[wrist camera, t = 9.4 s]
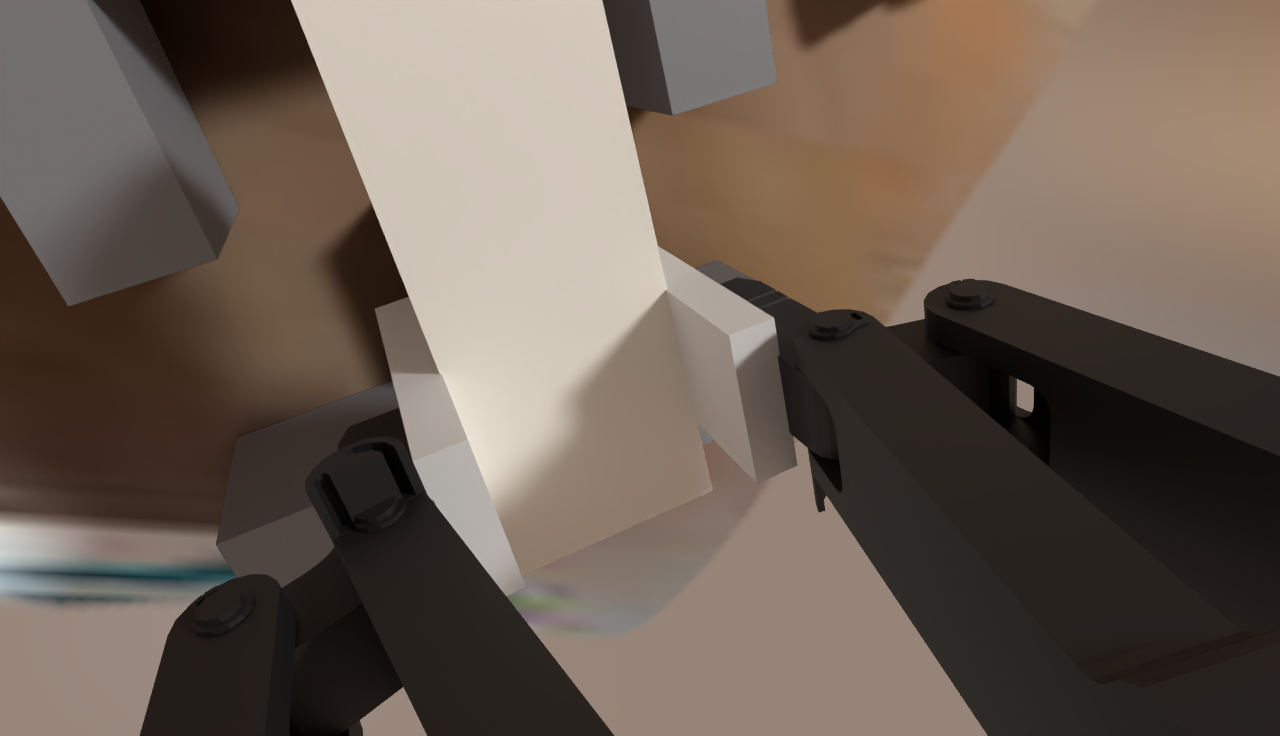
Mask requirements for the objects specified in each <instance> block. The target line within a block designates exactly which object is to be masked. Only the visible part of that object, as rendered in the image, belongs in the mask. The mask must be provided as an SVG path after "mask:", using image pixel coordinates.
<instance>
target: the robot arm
mask: <svg viewBox="0 0 1280 736" xmlns="http://www.w3.org/2000/svg"><path fill="white" fill-rule="evenodd" d="M658 250H659V254H660V259H661V263H662V268H663V272H664V277H665V281H666V285H667V290H666V293H667V297H668V302H669V306H670V311H671V315H672V320H673V324H674V328H675V333H676V337H677V342H678V346H679V351H680V355H681V359H682V364H683V368H684V373H685V377H686V382H687V386H688V390H689V395H690V399H691V404H692V408H693V413H694V417H695V421H696V422H697V423H698V424H699V425H700V426H701V427H702V428H703V429H704V430H705V431H706V432H707V433H708V434H709V435H710V436H711V437H712V438H713V439H714V441H715V442H716V443H717V444H718V445H719V446H720V447H721V448H722V449H723V450H724V451H725V452H726V453H727V454H728V455H729V456H730V457H731V458H732V459H733V460H734V461H735V462H736V463H737V464H738V465H739V466H740V467H741V468H742V469H743V470H744V471H745V472H746V473H747V474H748V475H749V476H750V477H751V478H752V479H753V480H754V481H755V482H756V483H759V482H761V481H764V480H766V479H768V478H770V477H773V476H775V475H777V474H779V473H781V472H784V471H786V470H788V469H790V468H792V467H795V466H797V461H796V454H795V448H794V441H793V436H794V437H796V438H797V439H798V440H799V441H800V442H802V443H803V444H804V445H805V446H806V447H808V453H809V460H810V466H811V473H812V479H813V487H814V493H815V500H816V505H817V508H818V512H822V511H825V506H824V499H825V497H826V495H827V497H828V498H829V500H830V501H831V502H832V504H833V506H834V507H835V509H836V510H837V511H838V513H839V515H840V516H841V517H842V519H843V520H844V522H845V523H846V525H847V526H848V528H849V529H850V531H851V532H852V534H853V535H854V537H855V538H856V540H857V541H858V543H859V544H860V546H861V547H862V549H863V550H864V552H865V553H866V555H867V556H868V558H869V559H870V561H871V562H872V564H873V565H874V567H875V568H876V570H877V571H878V573H879V574H880V576H881V577H882V578H883V580H884V582H885V583H886V585H887V586H888V588H889V589H890V590H891V592H892V593H893V595H894V596H895V598H896V599H897V601H898V602H899V604H900V605H901V607H902V608H903V610H904V611H905V613H906V614H907V616H908V617H909V619H910V620H911V622H912V623H913V625H914V626H915V628H916V629H917V631H918V632H919V634H920V635H921V637H922V638H923V640H924V641H925V643H926V644H927V645H928V647H929V648H930V650H931V652H932V653H933V654H934V656H935V658H936V659H937V660H938V662H939V663H940V665H941V667H942V668H943V669H944V671H945V672H946V674H947V675H948V677H949V678H950V680H951V681H952V683H953V684H954V686H955V687H956V689H957V690H958V692H959V693H960V695H961V696H962V698H963V699H964V701H965V702H966V704H967V705H968V707H969V708H970V709H971V711H972V713H973V714H974V716H975V717H976V719H977V720H978V721H979V723H980V724H981V726H982V728H983V729H984V730H985V732H986V734H987V735H988V736H1280V377H1279V376H1276V375H1273V374H1270V373H1267V372H1264V371H1261V370H1258V369H1255V368H1252V367H1249V366H1246V365H1243V364H1240V363H1237V362H1234V361H1231V360H1228V359H1225V358H1222V357H1219V356H1217V355H1214V354H1210V353H1208V352H1205V351H1202V350H1199V349H1195V348H1193V347H1189V346H1187V345H1183V344H1181V343H1178V342H1175V341H1172V340H1169V339H1166V338H1163V337H1160V336H1157V335H1154V334H1151V333H1148V332H1145V331H1142V330H1139V329H1136V328H1133V327H1130V326H1127V325H1124V324H1121V323H1118V322H1115V321H1112V320H1109V319H1106V318H1103V317H1100V316H1097V315H1094V314H1091V313H1088V312H1085V311H1082V310H1079V309H1076V308H1073V307H1070V306H1067V305H1065V304H1062V303H1059V302H1056V301H1052V300H1050V299H1047V298H1044V297H1041V296H1038V295H1035V294H1032V293H1028V292H1026V291H1023V290H1020V289H1017V288H1014V287H1011V286H1008V285H1005V284H1001V283H997V282H992V281H986V280H975V279H964V280H963V281H961V280H958V281H953V282H951V283H950V284H946V285H943V286H940V287H938V288H936V289H934V290H933V291H931V292H929V293H928V294H927V296H926V298H925V300H924V311H925V319H923V320H918V321H913V322H909V323H904V324H899V325H894V326H889V327H885V326H883V325H882V324H881V323H880V322H879V321H878V320H876V319H875V318H874V317H873V316H871V315H869V314H867V313H865V312H861V311H856V310H850V309H846V310H830V311H824V312H819V313H816V312H815V311H813V310H811V309H809V308H807V307H806V306H804V305H802V304H800V303H798V302H797V301H795V300H793V299H791V298H789V299H788V297H787V296H786V295H784V294H782V293H780V292H779V291H777V292H776V291H775V289H773V288H771V287H770V286H768V285H766V284H764V283H762V282H761V281H756V280H750V279H744V278H738V277H737V278H734V279H732V280H729V281H727V282H724V283H721V284H718V283H717V282H715V281H714V280H712V279H710V278H709V277H707V276H706V275H704V274H702V273H701V272H699V271H697V270H696V269H694V268H693V267H691V266H689V265H688V264H686V263H684V262H683V261H681V260H680V259H678V258H676V257H675V256H673V255H672V254H670V253H668V252H667V251H665V250H663V249H662V248H660V247H659V246H658ZM375 312H376V316H377V320H378V324H379V328H380V332H381V336H382V340H383V344H384V348H385V352H386V356H387V360H388V364H389V368H390V372H391V376H392V380H393V384H394V388H395V392H396V396H397V400H398V404H399V408H397V409H394V410H392V411H389V412H386V413H384V414H381V415H378V416H376V417H373V418H370V419H368V420H365V421H363V422H360V423H357V424H355V425H352V426H349V427H348V429H347V430H346V432H345V434H344V435H343V437H342V439H341V440H340V442H339V444H338V450H337V451H336V452H334V453H332V454H331V455H329V456H327V457H326V458H325V459H323V460H322V461H321V462H320V463H319V464H318V465H317V466H315V467H314V468H313V469H312V471H311V472H310V474H309V476H308V477H307V479H306V480H305V491H306V493H307V495H308V497H309V499H310V501H311V503H312V504H313V506H314V508H315V510H316V512H317V514H318V516H319V518H320V519H321V521H322V523H323V525H324V527H325V529H326V531H327V533H328V534H329V536H330V538H331V540H332V542H333V544H334V546H335V547H334V548H333V549H332V551H331V552H330V553H329V554H328V555H327V556H326V557H325V558H324V559H323V560H322V561H321V562H320V563H319V564H317V565H316V566H314V567H313V568H312V569H310V570H309V571H307V572H306V573H305V574H303V575H302V576H300V577H298V578H297V579H295V580H294V581H292V582H291V583H289V584H287V585H286V586H284V587H283V588H281V586H280V584H279V583H278V581H277V580H276V579H274V578H272V577H270V576H269V575H267V574H250V575H246V576H242V577H239V578H235V579H231V580H229V581H227V582H225V583H223V584H221V585H219V586H216V587H213V588H212V589H210V590H209V591H207V592H205V593H204V595H203V596H202V595H201V596H200V597H199V598H197V599H196V600H195V601H194V602H193V603H192V604H190V606H189V607H188V608H187V609H186V610H185V611H184V612H183V613H182V614H181V615H180V616H179V617H178V618H177V619H176V621H175V623H174V625H173V627H172V629H171V630H170V632H169V634H168V637H167V640H166V644H165V647H164V651H163V655H162V658H161V662H160V665H159V669H158V673H157V676H156V679H155V683H154V687H153V690H152V694H151V697H150V701H149V705H148V708H147V712H146V715H145V719H144V722H143V726H142V730H141V733H140V736H363V729H362V726H361V723H360V719H362V718H363V717H364V716H366V715H367V714H368V713H370V712H371V711H372V710H373V709H375V708H376V707H377V706H379V705H380V704H381V703H383V702H384V701H385V700H386V699H388V698H389V697H391V696H392V695H393V694H394V693H396V692H397V691H398V690H399V689H401V688H402V687H404V689H405V691H406V693H407V695H408V697H409V699H410V701H411V703H412V705H413V707H414V709H415V711H416V713H417V715H418V717H419V720H420V721H421V723H422V726H423V728H424V730H425V732H426V734H427V736H614V735H613V733H612V732H611V731H610V730H609V728H608V727H607V726H606V724H605V723H604V722H603V721H602V719H601V718H600V717H599V715H598V714H597V713H596V712H595V710H594V709H593V708H592V706H591V705H590V704H589V702H588V701H587V700H586V699H585V697H584V696H583V695H582V694H581V692H580V691H579V690H578V688H577V687H576V686H575V684H574V683H573V682H572V681H571V679H570V678H569V677H568V676H567V674H566V673H565V671H564V670H563V669H562V668H561V666H560V665H559V664H558V662H557V661H556V660H555V659H554V657H553V656H552V655H551V653H550V652H549V651H548V650H547V648H546V647H545V646H544V644H543V643H542V642H541V641H540V639H539V638H538V637H537V635H536V634H535V633H534V631H533V630H532V629H531V628H530V626H529V625H528V624H527V622H526V621H525V620H524V619H523V617H522V616H521V615H520V613H519V612H518V611H517V610H516V608H515V607H514V606H513V604H512V603H511V602H510V601H509V599H508V598H507V596H509V595H511V594H513V593H515V592H518V591H520V590H522V589H524V588H526V585H525V583H524V580H523V578H522V575H521V573H520V570H519V568H518V565H517V562H516V560H515V557H514V555H513V552H512V550H511V547H510V545H509V542H508V540H507V537H506V535H505V532H504V530H503V527H502V525H501V522H500V519H499V517H498V514H497V512H496V509H495V507H494V504H493V502H492V499H491V497H490V494H489V492H488V489H487V487H486V484H485V482H484V479H483V477H482V474H481V471H480V469H479V466H478V464H477V461H476V459H475V456H474V454H473V451H472V449H471V446H470V444H469V441H468V439H467V436H466V434H465V431H464V429H463V426H462V424H461V421H460V418H459V416H458V413H457V411H456V408H455V406H454V403H453V401H452V398H451V396H450V393H449V391H448V388H447V386H446V383H445V381H444V378H443V376H442V374H440V373H439V371H438V368H437V366H436V363H435V361H434V358H433V356H432V353H431V351H430V348H429V346H428V343H427V341H426V338H425V336H424V333H423V331H422V328H421V326H420V323H419V321H418V318H417V316H416V313H415V311H414V308H413V305H412V303H411V300H410V298H409V297H407V298H404V299H401V300H398V301H395V302H392V303H389V304H386V305H384V306H381V307H378V308H375ZM1017 379H1019V380H1021V381H1023V382H1026V383H1027V384H1030V385H1031V386H1033V387H1034V407H1033V412H1029V411H1026V410H1024V409H1022V408H1019V407H1018V406H1017Z"/></svg>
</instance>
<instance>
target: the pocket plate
mask: <svg viewBox="0 0 1280 736" xmlns="http://www.w3.org/2000/svg"><path fill="white" fill-rule="evenodd" d="M602 1H603V6H604V10H605V15H606V19H607V24H608V28H609V32H610V37H611V41H612V46H613V50H614V55H615V59H616V63H617V68H618V72H619V77H620V81H621V86H622V90H623V95H624V99H625V103H626V106H628V107H633V108H638V109H643V110H648V111H653V112H658V113H663V114H668V115H676V114H679V113H682V112H685V111H688V110H692V109H695V108H698V107H701V106H704V105H707V104H711V103H714V102H717V101H720V100H723V99H726V98H730V97H733V96H736V95H739V94H742V93H745V92H749V91H752V90H755V89H758V88H761V87H764V86H768V85H771V84H774V83H777V79H776V72H775V65H774V58H773V50H772V43H771V36H770V29H769V22H768V15H767V8H766V1H765V0H602ZM0 197H1V198H2V200H3V202H4V203H5V205H6V207H7V208H8V210H9V211H10V213H11V215H12V216H13V218H14V219H15V221H16V223H17V224H18V226H19V227H20V229H21V231H22V232H23V234H24V236H25V237H26V239H27V240H28V242H29V244H30V245H31V247H32V248H33V250H34V252H35V253H36V255H37V257H38V258H39V260H40V261H41V263H42V265H43V266H44V268H45V269H46V271H47V273H48V274H49V276H50V278H51V279H52V281H53V282H54V284H55V286H56V287H57V289H58V290H59V292H60V294H61V295H62V297H63V298H64V300H65V302H66V303H67V305H68V306H71V305H74V304H78V303H81V302H84V301H87V300H90V299H93V298H97V297H100V296H103V295H106V294H109V293H112V292H116V291H119V290H122V289H125V288H128V287H131V286H135V285H138V284H141V283H144V282H147V281H150V280H154V279H157V278H160V277H163V276H166V275H169V274H173V273H176V272H179V271H182V270H185V269H188V268H192V267H195V266H198V265H201V264H204V263H207V262H211V261H214V260H217V259H218V257H219V255H220V252H221V250H222V248H223V245H224V243H225V241H226V238H227V236H228V234H229V232H230V229H231V227H232V225H233V222H234V220H235V218H236V215H237V213H238V211H239V207H238V204H237V202H236V200H235V198H234V196H233V194H232V192H231V190H230V188H229V186H228V184H227V181H226V179H225V177H224V175H223V173H222V171H221V169H220V167H219V165H218V163H217V161H216V159H215V156H214V154H213V152H212V150H211V148H210V146H209V144H208V142H207V140H206V138H205V136H204V133H203V131H202V129H201V127H200V125H199V123H198V121H197V119H196V117H195V115H194V113H193V110H192V108H191V106H190V104H189V102H188V100H187V98H186V96H185V94H184V92H183V90H182V88H181V85H180V83H179V81H178V79H177V77H176V75H175V73H174V71H173V69H172V67H171V65H170V62H169V60H168V58H167V56H166V54H165V52H164V50H163V48H162V46H161V44H160V42H159V39H158V37H157V35H156V33H155V31H154V29H153V27H152V25H151V23H150V21H149V19H148V17H147V14H146V12H145V10H144V8H143V6H142V4H141V2H140V0H0ZM695 269H696V270H697V271H699V272H701V273H702V274H704V275H706V276H707V277H709V278H710V279H712V280H714V281H715V282H717V283H718V284H721V283H724V282H727V281H729V280H732V279H734V278H737V277H738V278H744V279H750V280H754V279H752V278H751V277H749V276H747V275H745V274H743V273H741V272H739V271H738V270H736V269H734V268H732V267H730V266H728V265H726V264H724V263H723V262H721V261H719V260H717V261H714V262H712V263H709V264H706V265H704V266H701V267H698V268H695ZM776 292H777V291H776ZM788 299H789V298H788ZM397 408H399V404H398V400H397V396H396V392H395V388H394V384H393V380H392V381H389V382H387V383H384V384H381V385H379V386H376V387H373V388H371V389H368V390H365V391H362V392H360V393H357V394H354V395H352V396H349V397H346V398H343V399H341V400H338V401H335V402H333V403H330V404H327V405H324V406H322V407H319V408H316V409H314V410H311V411H308V412H306V413H303V414H300V415H297V416H295V417H292V418H289V419H287V420H284V421H281V422H278V423H276V424H273V425H270V426H268V427H265V428H262V429H260V430H257V431H254V432H251V433H249V434H246V435H243V436H241V437H238V438H236V443H235V448H234V453H233V458H232V463H231V469H230V474H229V479H228V484H227V490H226V495H225V500H224V505H223V511H222V516H221V521H220V526H219V532H218V537H217V542H216V545H217V547H218V549H219V550H220V552H221V554H222V555H223V557H224V558H225V560H226V562H227V563H228V565H229V566H230V568H231V570H232V571H233V573H234V574H235V576H236V578H239V577H242V576H246V575H250V574H267V575H269V576H270V577H272V578H274V579H276V580H277V581H278V583H279V584H280V586H281V588H283V587H284V586H286V585H287V584H289V583H291V582H292V581H294V580H295V579H297V578H298V577H300V576H302V575H303V574H305V573H306V572H307V571H309V570H310V569H312V568H313V567H314V566H316V565H317V564H319V563H320V562H321V561H322V560H323V559H324V558H325V557H326V556H327V555H328V554H329V553H330V552H331V551H332V549H333V548H334V547H335V546H334V544H333V542H332V540H331V538H330V536H329V534H328V533H327V531H326V529H325V527H324V525H323V523H322V521H321V519H320V518H319V516H318V514H317V512H316V510H315V508H314V506H313V504H312V503H311V501H310V499H309V497H308V495H307V493H306V491H305V480H306V479H307V477H308V476H309V474H310V472H311V471H312V469H313V468H314V467H315V466H317V465H318V464H319V463H320V462H321V461H322V460H323V459H325V458H326V457H327V456H329V455H331V454H332V453H334V452H336V451H337V450H338V444H339V442H340V440H341V439H342V437H343V435H344V434H345V432H346V430H347V429H348V427H349V426H352V425H355V424H357V423H360V422H363V421H365V420H368V419H370V418H373V417H376V416H378V415H381V414H384V413H386V412H389V411H392V410H394V409H397ZM698 427H699V432H700V436H701V441H702V445H705V444H708V443H710V442H712V441H714V439H713V438H712V437H711V436H710V435H709V434H708V433H707V432H706V431H705V430H704V429H703V428H702V427H701V426H700V425H699V424H698Z"/></svg>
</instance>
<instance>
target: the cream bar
mask: <svg viewBox="0 0 1280 736" xmlns="http://www.w3.org/2000/svg"><path fill="white" fill-rule="evenodd" d="M291 1H292V4H293V6H294V9H295V11H296V14H297V16H298V19H299V21H300V24H301V26H302V29H303V31H304V34H305V36H306V39H307V42H308V44H309V47H310V49H311V52H312V54H313V57H314V59H315V62H316V64H317V67H318V69H319V72H320V74H321V77H322V79H323V82H324V84H325V87H326V89H327V92H328V94H329V97H330V99H331V102H332V104H333V107H334V109H335V112H336V114H337V117H338V119H339V122H340V124H341V127H342V130H343V132H344V135H345V137H346V140H347V142H348V145H349V147H350V150H351V152H352V155H353V157H354V160H355V162H356V165H357V167H358V170H359V172H360V175H361V177H362V180H363V182H364V185H365V187H366V190H367V192H368V195H369V197H370V200H371V202H372V205H373V207H374V210H375V212H376V215H377V218H378V220H379V223H380V225H381V228H382V230H383V233H384V235H385V238H386V240H387V243H388V245H389V248H390V250H391V253H392V255H393V258H394V260H395V263H396V265H397V268H398V270H399V273H400V275H401V278H402V280H403V283H404V285H405V288H406V290H407V293H408V295H409V298H410V300H411V303H412V305H413V308H414V311H415V313H416V316H417V318H418V321H419V323H420V326H421V328H422V331H423V333H424V336H425V338H426V341H427V343H428V346H429V348H430V351H431V353H432V356H433V358H434V361H435V363H436V366H437V368H438V371H439V373H440V374H442V376H443V378H444V381H445V383H446V386H447V388H448V391H449V393H450V396H451V398H452V401H453V403H454V406H455V408H456V411H457V413H458V416H459V418H460V421H461V424H462V426H463V429H464V431H465V434H466V436H467V439H468V441H469V444H470V446H471V449H472V451H473V454H474V456H475V459H476V461H477V464H478V466H479V469H480V471H481V474H482V477H483V479H484V482H485V484H486V487H487V489H488V492H489V494H490V497H491V499H492V502H493V504H494V507H495V509H496V512H497V514H498V517H499V519H500V522H501V525H502V527H503V530H504V532H505V535H506V537H507V540H508V542H509V545H510V547H511V550H512V552H513V555H514V557H515V560H516V562H517V565H518V568H519V570H520V573H521V575H522V576H523V575H525V574H528V573H530V572H532V571H534V570H536V569H539V568H541V567H543V566H545V565H548V564H550V563H552V562H554V561H557V560H559V559H561V558H563V557H565V556H568V555H570V554H572V553H574V552H577V551H579V550H581V549H583V548H586V547H588V546H590V545H592V544H595V543H597V542H599V541H601V540H603V539H606V538H608V537H610V536H612V535H615V534H617V533H619V532H621V531H624V530H626V529H628V528H630V527H633V526H635V525H637V524H639V523H641V522H644V521H646V520H648V519H650V518H653V517H655V516H657V515H659V514H662V513H664V512H666V511H668V510H671V509H673V508H675V507H677V506H679V505H682V504H684V503H686V502H688V501H691V500H693V499H695V498H697V497H700V496H702V495H704V494H706V493H708V492H711V491H713V490H712V485H711V481H710V476H709V472H708V467H707V463H706V459H705V454H704V450H703V445H702V441H701V436H700V432H699V427H698V423H697V422H696V421H695V417H694V413H693V408H692V404H691V399H690V395H689V390H688V386H687V382H686V377H685V373H684V368H683V364H682V359H681V355H680V351H679V346H678V342H677V337H676V333H675V328H674V324H673V320H672V315H671V311H670V306H669V302H668V297H667V293H666V290H667V285H666V281H665V277H664V272H663V268H662V263H661V259H660V254H659V250H658V245H657V241H656V237H655V232H654V228H653V223H652V219H651V214H650V210H649V206H648V201H647V197H646V192H645V188H644V183H643V179H642V174H641V170H640V166H639V161H638V157H637V152H636V148H635V143H634V139H633V135H632V130H631V126H630V121H629V117H628V112H627V108H626V103H625V99H624V95H623V90H622V86H621V81H620V77H619V72H618V68H617V63H616V59H615V55H614V50H613V46H612V41H611V37H610V32H609V28H608V24H607V19H606V15H605V10H604V6H603V1H602V0H291Z"/></svg>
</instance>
